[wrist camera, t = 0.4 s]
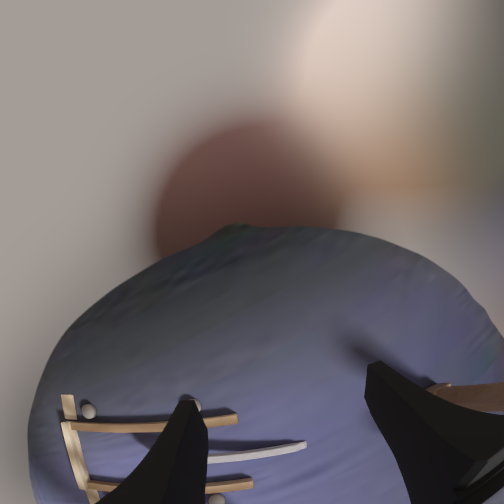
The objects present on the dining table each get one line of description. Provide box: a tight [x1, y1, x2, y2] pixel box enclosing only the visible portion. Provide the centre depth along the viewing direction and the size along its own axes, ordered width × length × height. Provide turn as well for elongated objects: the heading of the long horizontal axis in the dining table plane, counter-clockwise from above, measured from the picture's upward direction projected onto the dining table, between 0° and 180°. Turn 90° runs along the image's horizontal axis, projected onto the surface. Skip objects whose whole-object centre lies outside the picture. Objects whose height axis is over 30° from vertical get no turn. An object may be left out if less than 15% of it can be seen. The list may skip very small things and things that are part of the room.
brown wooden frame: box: [425, 382, 504, 411], centre depth 24 cm, size 4×11×18 cm, turn 8°
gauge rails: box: [61, 394, 254, 504], centre depth 29 cm, size 20×27×2 cm
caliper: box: [207, 441, 307, 464], centre depth 28 cm, size 20×1×6 cm, turn 95°
